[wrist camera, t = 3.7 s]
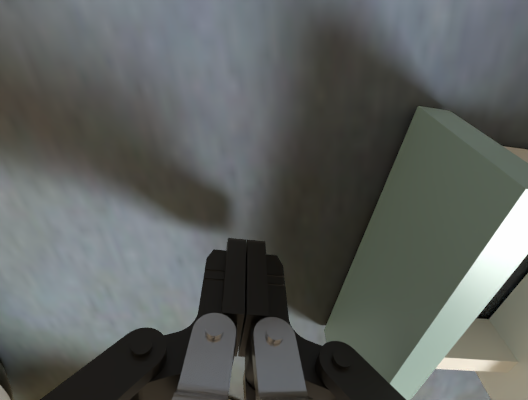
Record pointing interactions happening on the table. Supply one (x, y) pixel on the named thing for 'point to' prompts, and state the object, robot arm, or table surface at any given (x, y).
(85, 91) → the table surface
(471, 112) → the table surface
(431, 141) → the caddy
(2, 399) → the spread jar
